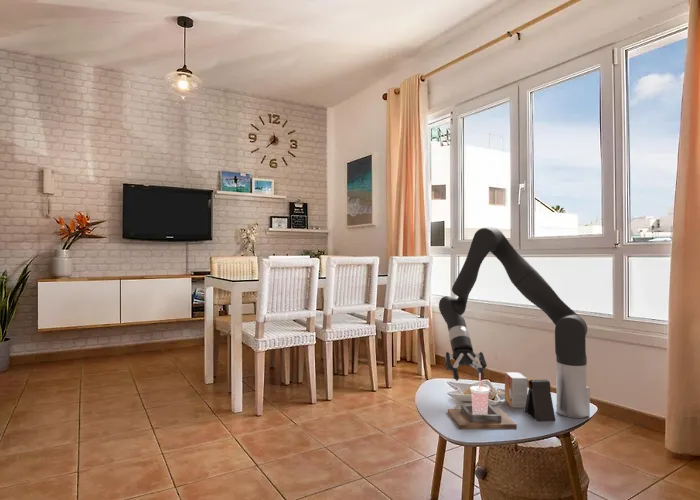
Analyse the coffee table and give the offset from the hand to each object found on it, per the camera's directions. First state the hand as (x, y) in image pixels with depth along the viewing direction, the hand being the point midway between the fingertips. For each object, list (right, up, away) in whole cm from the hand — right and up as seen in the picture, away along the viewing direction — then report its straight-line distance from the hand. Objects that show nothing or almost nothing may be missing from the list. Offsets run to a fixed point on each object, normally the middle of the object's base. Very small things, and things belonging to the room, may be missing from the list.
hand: (469, 379), depth 154 cm
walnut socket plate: (0, -10, -12) cm, 15 cm away
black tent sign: (+21, -10, -8) cm, 25 cm away
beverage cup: (0, -9, -11) cm, 14 cm away
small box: (+18, -10, +4) cm, 21 cm away
